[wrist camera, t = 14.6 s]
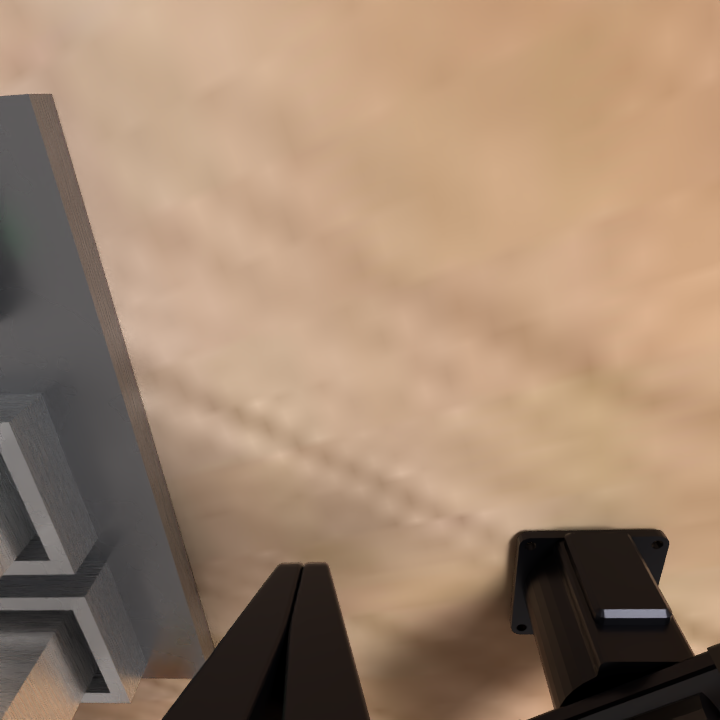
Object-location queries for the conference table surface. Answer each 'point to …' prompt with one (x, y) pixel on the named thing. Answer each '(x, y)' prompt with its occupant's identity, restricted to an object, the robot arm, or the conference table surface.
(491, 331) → the conference table surface
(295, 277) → the conference table surface
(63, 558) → the dark grey fixture board
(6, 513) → the aluminium block
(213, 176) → the conference table surface
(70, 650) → the block
